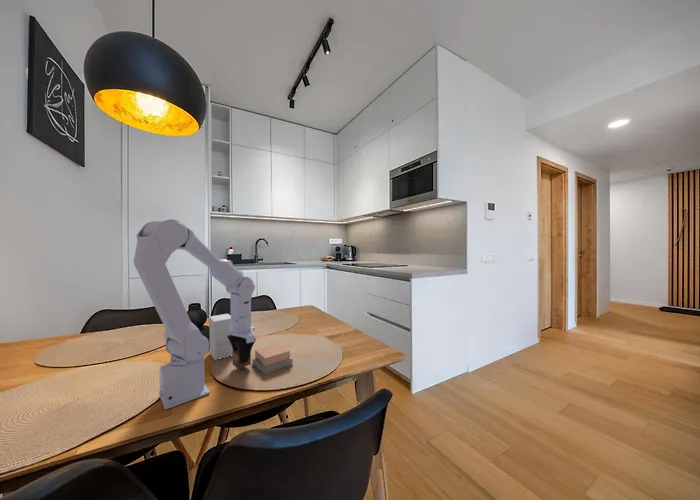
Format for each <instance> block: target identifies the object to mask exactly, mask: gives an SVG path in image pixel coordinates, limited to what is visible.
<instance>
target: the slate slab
mask: <svg viewBox="0 0 700 500" xmlns="http://www.w3.org/2000/svg"><path fill="white" fill-rule="evenodd" d="M251 360H252V361H251V364H252V365H253V364H254V365H255V366H256V367H257V368H256V367H255V366H254V365H253V366H254V367H255V368H256V369H257V370H259V369H260V370H261V371H262V372H261V371H260V370H259V371H260V372H261V373H262V374H264V375H265V374H266V375H268V373H269V374H271V373H273V371H274V372H276V370H277V371H279V370H281V368H282V369H284V368H283V367H285V368H287V367H289V366H288V365H290V364H292V365H293V358H292V357H291V356H290V359H287V360H284V361H281V362H278V363H275V364H272V365H269V366H266V367H265V366H264V365H263V364H262V363H261V362H260V361H258V360H257V359H256V358H255V357H253V358H251ZM286 366H287V367H286ZM290 366H291V365H290ZM270 372H271V373H270Z"/></svg>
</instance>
